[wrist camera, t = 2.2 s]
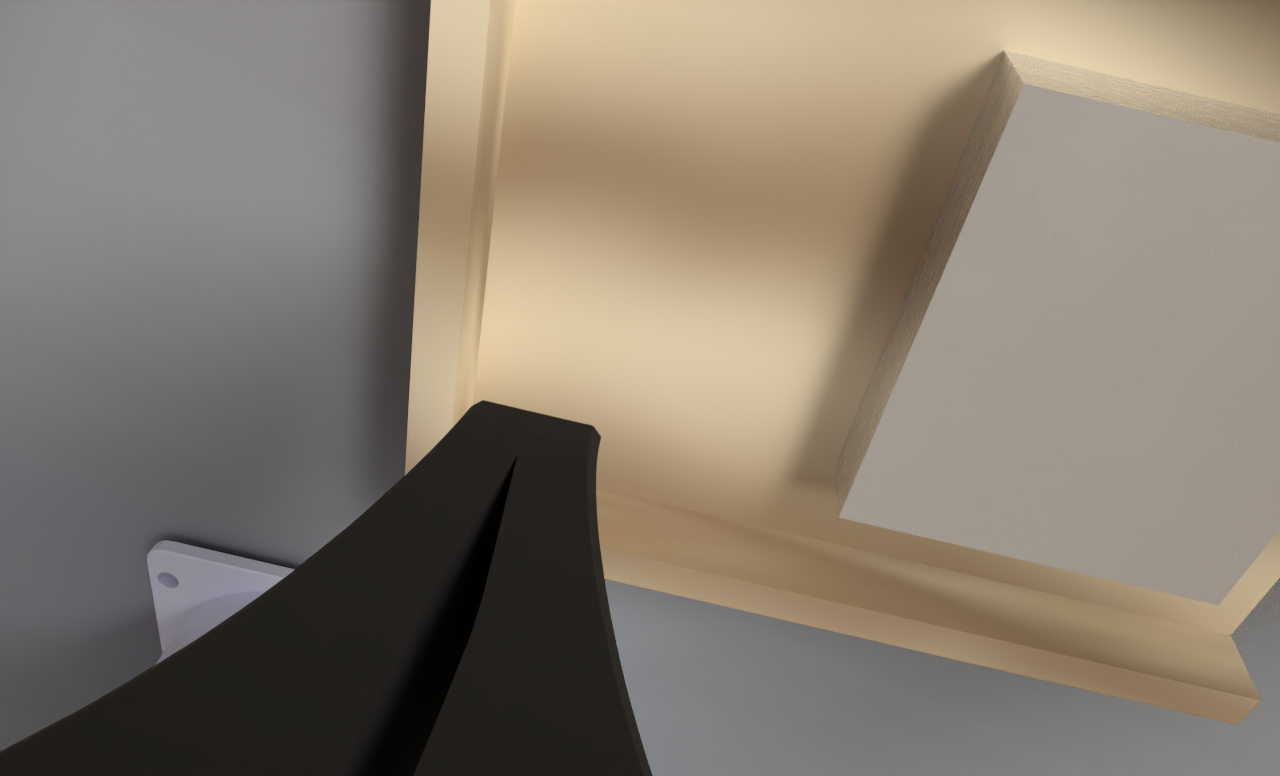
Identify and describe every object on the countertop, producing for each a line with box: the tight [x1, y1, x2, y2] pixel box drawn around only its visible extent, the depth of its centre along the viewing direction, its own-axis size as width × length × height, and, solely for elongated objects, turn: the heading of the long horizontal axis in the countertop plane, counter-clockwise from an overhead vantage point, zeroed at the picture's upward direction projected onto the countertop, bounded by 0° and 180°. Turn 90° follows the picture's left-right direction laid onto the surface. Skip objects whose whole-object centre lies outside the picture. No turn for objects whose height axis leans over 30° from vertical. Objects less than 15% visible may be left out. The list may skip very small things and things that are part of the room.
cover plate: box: [836, 51, 1280, 605], centre depth 16 cm, size 8×7×2 cm
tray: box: [405, 0, 1280, 725], centre depth 16 cm, size 14×17×2 cm
